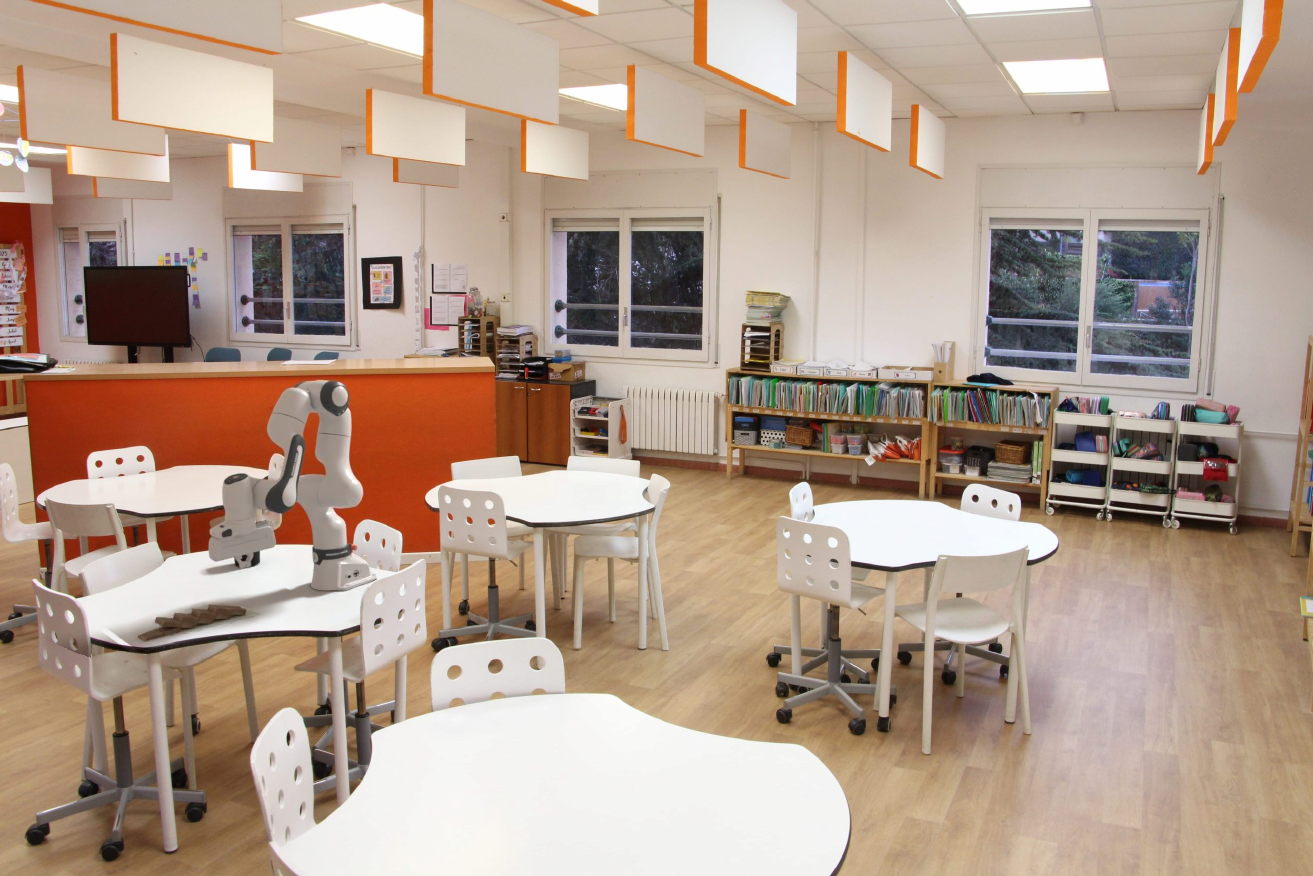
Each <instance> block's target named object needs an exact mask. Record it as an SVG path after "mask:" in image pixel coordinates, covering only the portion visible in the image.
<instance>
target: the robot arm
mask: <svg viewBox="0 0 1313 876" xmlns="http://www.w3.org/2000/svg"><path fill="white" fill-rule="evenodd" d="M349 402H350V394H349V390H348V388H347V386H346V385H345V384H344V383H342V382H340V381H337V380H324V379H317V380H310V381H307V380H306V381H305V380H304V381H301V382H298V383H297V384H295V385H293V387H288V388H286V389H285V390H284V391H283V392H282V393H281V395H280V396H279V398H278V399H277V401H276V404H275V405H274V408H273V410H272V412H271V415H270V417H269V419H268V421H267V426H266V427H267V428H266V432H267V435H268V437H269V438H270V440H271V441H272V442H273V443H274V444H276V445H277V446H278V447H279V448H281V449H282V450H283V453H284V458H283V463H282V467H281V470H280V471H281V472H280V475H279V478H278V479H277V480H271V479H264V478H258V477H257V478H256V477H253V476H250V475H249V474H247V473H243V472H242V473H240V472H239V473H235V474H234V473H233V474H231V475H228V476H227V477H226V478H225V479H224V480H223V483H222V487H221V488H222V491H221V495H222V505H223V508H224V511H225V512H224V513H225V514H224V520H223V521H221V522H220V523H218V524H216V525H215V526H213V527H210V529H209V534H210V536H211V537H210V538H209V541H208V557H209V559H210V560H211V561H213V562H221V561H225V560H229V559H234V557H235V559H236V560H237V561H238V563H239V567H238V568H240V569H241V570H243V569H246V568H251V567H250V566H251V563H250V561H251V560H252V558H253V552H257V551H260V552H261V551H264V550H268V549H272V548H275V546H276V545H277V540H276V536H275V532H274V530H275V527H274V522H273V521H272V520H269V519H264V520H260V521H257V520H256V512H255V511H256V510H257V509H258V510H263V511H269V512H272V513H276V514H279V515H280V514H282V515H283V514H286V513H287V512H290V510H292V509H293V508H294V507H295V505H296V503H298V504H299V505H300V506H301V507H302V509H304V511H305V513H306V515H307V517H308V519H309V523H310V526H311V531H312V542H313V545H312V546H311V547H312V562H313V569H312V570H313V572H312V579H311V583H310V587H311V588H312V589H314V590H319V591H347V590H350V589H353V588H357V587H360V586H362V585H365V584H367V583H371V582H374V581H376V580H378V575H377V574H376V573H375V572H373V571H371V569H370V565H369V563H368V561H366V560H365V559H364V558H363V557H360V556H359V555H357V554H356V553H354V552H353V551H357V550H358V545H357V544H355V543H349V542H348V540H347V539H348V538H347V525H346V522H345V520H344V518H342V517H341V516H339V515H338V514H337V513H336V512H335V509H348V508H349V509H350V508H354V507H357V506H358V505H359V504H360V503H361V501H362V500H363V499H362V498H363V496H364V488H363V486H362V484H361V482H360V481H359V480H358V479H357V477H356V475H354V473H353V470H352V468H351V465H350V464H351V463H350V447H351V439H352V413H351V410H350V409H349ZM311 413H314V414H317V415H318V418H319V424H318V428H317V434H316V442H315V444H316V445H315V451H314V455H315V458H316V459H317V461H319V462H320V463H321V464H323V467H324V469H325V474H316V473H311V474H310V473H308V474H303V475H301V472H302V469H303V468H302V467H303V463H304V458H305V453H306V440H305V439H304V431H305V427H306V424H307V421H308V418H309V415H310V414H311ZM352 550H353V551H352ZM245 554H246V555H247V559H246V561H243V562H242V561H241V560H240V559H242V555H245ZM375 579H376V580H375ZM373 580H374V581H373Z"/></svg>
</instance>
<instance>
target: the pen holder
mask: <svg viewBox="0 0 1313 876" xmlns="http://www.w3.org/2000/svg"><path fill="white" fill-rule="evenodd" d="M233 559H234V565H235V566H236V567H237V566H238V567H237V568H240V567H239V563H238V561H237V560H236V559H235V557H234V558H233ZM246 559H247V555H246V554H245V555H242V559H240V560H241V561H242V562H243V561H246ZM250 563H251V566H252V567H254V566H253V565H256V564H258V563H259V564H260V563H261V551H257V552H253V558H252V560H251V561H250ZM259 564H258V565H259ZM256 566H257V565H256Z"/></svg>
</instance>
